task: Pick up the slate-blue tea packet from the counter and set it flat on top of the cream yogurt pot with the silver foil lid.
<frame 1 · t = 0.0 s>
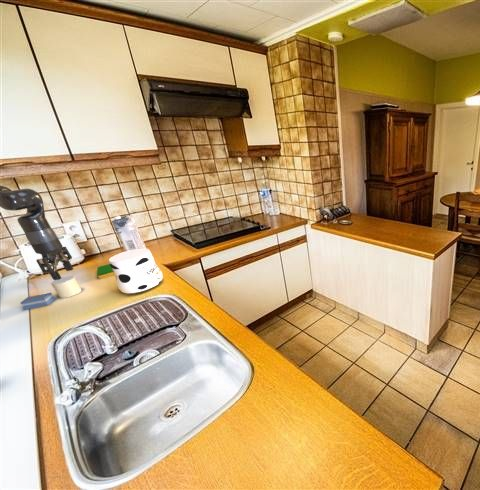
hand: (64, 274, 113), 16 cm above the worktop, tool pointing down, fingers open, 8 cm apart
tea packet: (40, 304, 122), on the worktop
dish sponge: (108, 272, 149), on the worktop
juice carton: (139, 256, 167), on the worktop
yogurt pot: (70, 293, 130), on the worktop
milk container: (144, 287, 132), on the worktop
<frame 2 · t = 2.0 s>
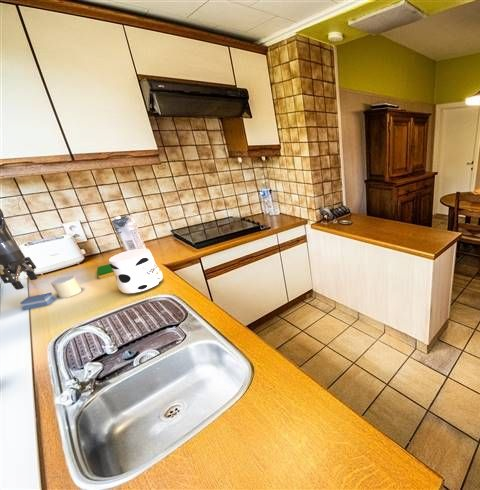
hand: (27, 284, 117), 11 cm above the worktop, tool pointing down, fingers open, 8 cm apart
nothing on the worktop moved.
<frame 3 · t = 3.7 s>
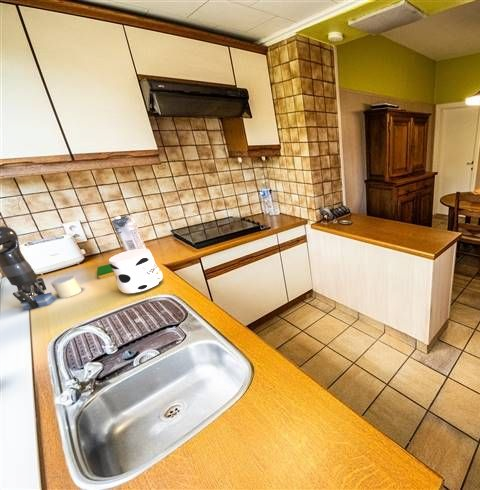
hand: (40, 304, 122), 0 cm above the worktop, tool pointing down, fingers closed on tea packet, 5 cm apart
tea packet: (40, 304, 122), on the worktop, touching gripper
everything else where it was.
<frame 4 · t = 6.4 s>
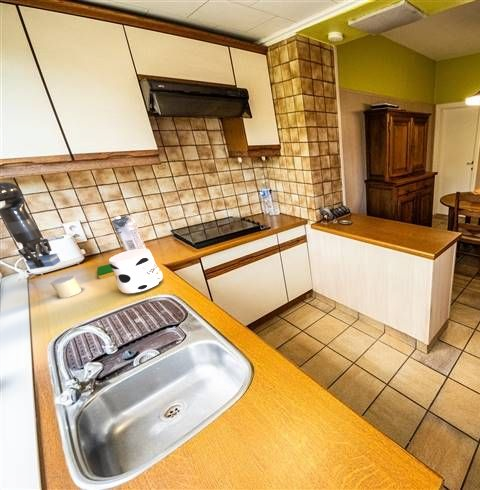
hand: (45, 264, 121), 17 cm above the worktop, tool pointing down, fingers closed on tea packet, 5 cm apart
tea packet: (46, 265, 121), point 17 cm above the worktop, touching gripper
everything else where it was.
when the fingers open (8 cm above the worktop, at t = 9.1 s): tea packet stays where it is, resting on yogurt pot.
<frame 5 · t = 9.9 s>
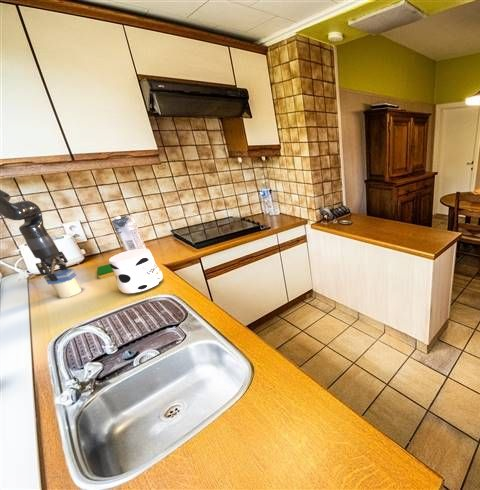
hand: (60, 276, 126), 10 cm above the worktop, tool pointing down, fingers open, 8 cm apart
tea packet: (62, 279, 126), point 8 cm above the worktop, touching yogurt pot
yogurt pot: (70, 293, 130), on the worktop, touching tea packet
everything else where it was.
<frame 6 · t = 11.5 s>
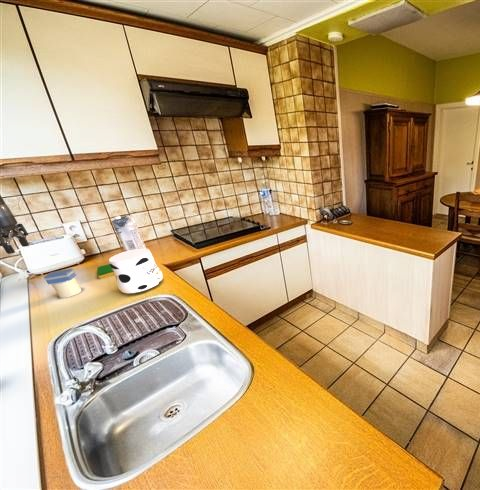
hand: (19, 249, 120), 24 cm above the worktop, tool pointing down, fingers open, 8 cm apart
nothing on the worktop moved.
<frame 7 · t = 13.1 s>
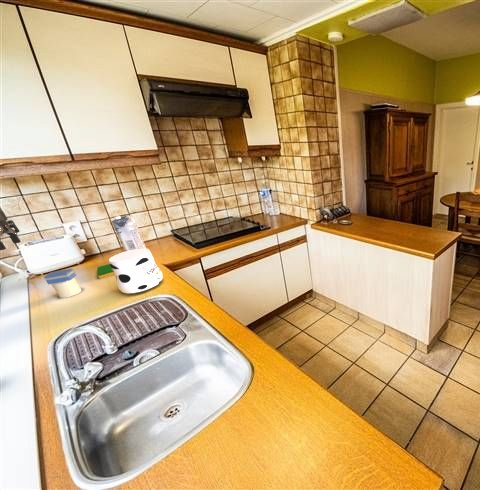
hand: (10, 246, 120), 26 cm above the worktop, tool pointing down, fingers open, 8 cm apart
nothing on the worktop moved.
at the end: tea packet 0.0 cm off-centre on the yogurt pot, point 7.9 cm above the yogurt pot's base; the gripper is holding nothing; yogurt pot tilted 0° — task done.
